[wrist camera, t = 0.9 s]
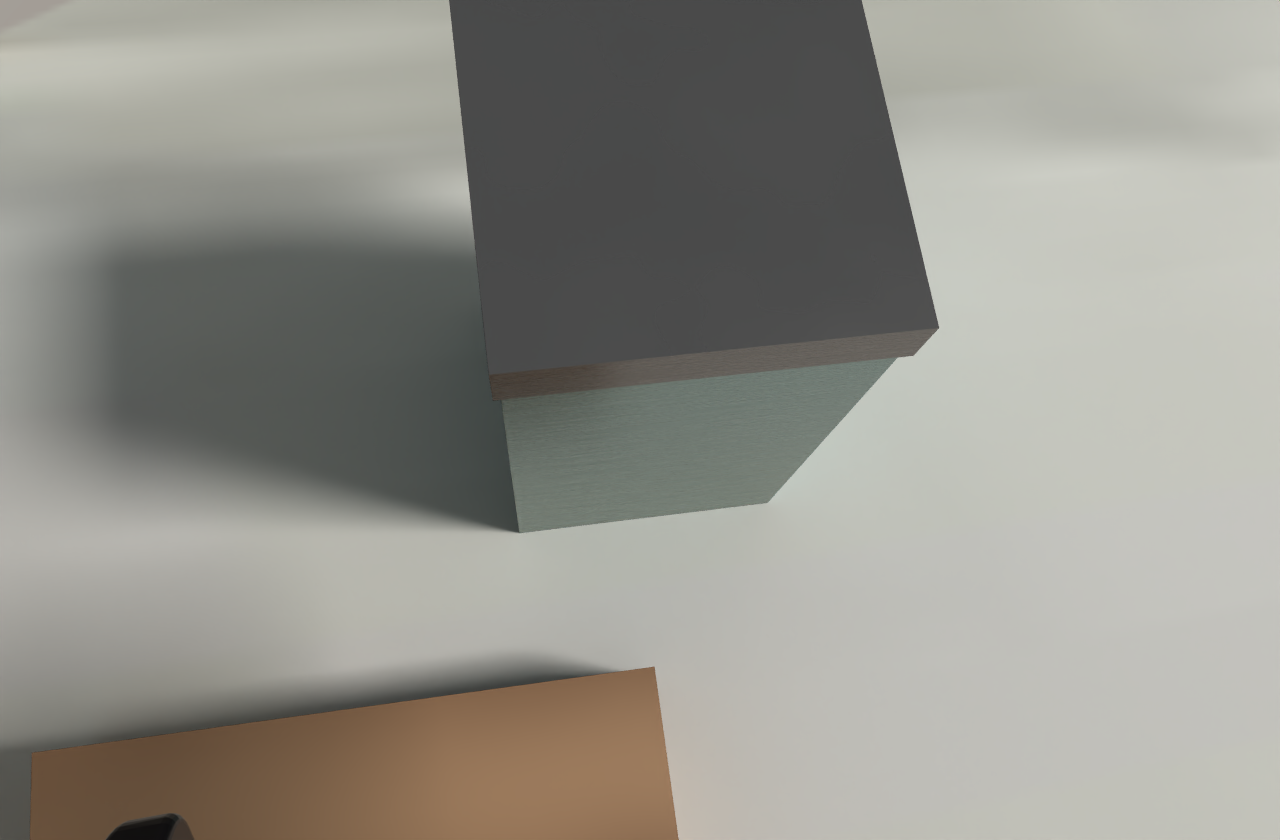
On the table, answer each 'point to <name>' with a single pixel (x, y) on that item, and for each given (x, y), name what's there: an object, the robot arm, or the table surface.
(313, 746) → the walnut block
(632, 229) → the tea tin
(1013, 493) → the table surface
